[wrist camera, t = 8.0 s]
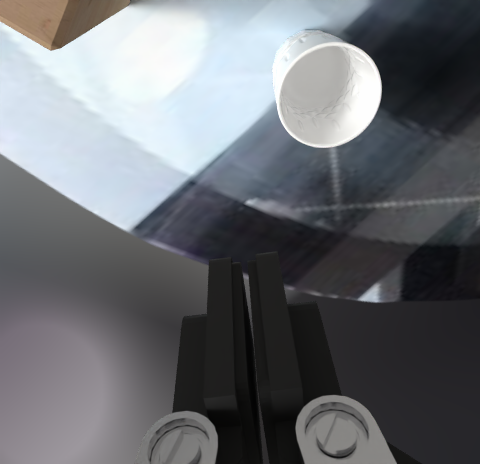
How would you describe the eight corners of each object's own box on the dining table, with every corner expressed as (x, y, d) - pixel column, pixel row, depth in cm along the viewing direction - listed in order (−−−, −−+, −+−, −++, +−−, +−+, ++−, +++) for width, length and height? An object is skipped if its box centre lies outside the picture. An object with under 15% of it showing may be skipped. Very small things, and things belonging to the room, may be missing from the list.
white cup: (333, 116, 45) (359, 156, 36) (257, 100, 44) (265, 137, 35) (362, 33, 41) (398, 56, 32) (278, 12, 40) (293, 30, 31)
